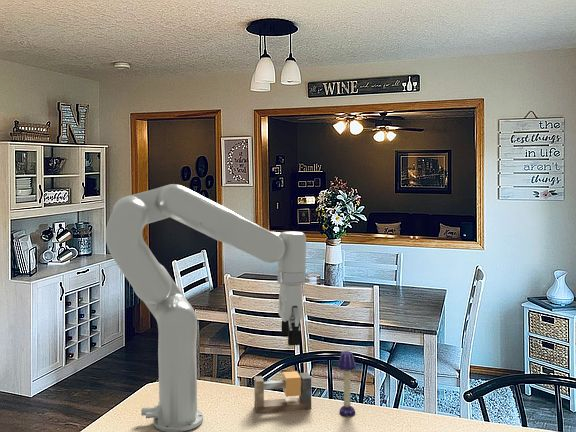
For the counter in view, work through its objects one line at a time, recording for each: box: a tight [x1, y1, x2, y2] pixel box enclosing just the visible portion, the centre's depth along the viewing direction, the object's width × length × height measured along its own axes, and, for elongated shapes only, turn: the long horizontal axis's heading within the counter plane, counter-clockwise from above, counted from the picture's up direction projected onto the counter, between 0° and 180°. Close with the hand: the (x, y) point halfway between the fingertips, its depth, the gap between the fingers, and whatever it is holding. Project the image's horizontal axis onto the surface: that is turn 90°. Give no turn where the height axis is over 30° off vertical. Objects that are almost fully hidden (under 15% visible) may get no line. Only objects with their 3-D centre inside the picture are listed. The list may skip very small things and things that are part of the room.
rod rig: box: [253, 372, 312, 414], centre depth 155 cm, size 15×4×8 cm, turn 101°
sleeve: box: [282, 370, 301, 398], centre depth 155 cm, size 4×5×5 cm
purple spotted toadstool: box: [337, 350, 356, 417], centre depth 151 cm, size 5×5×17 cm
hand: (290, 339), depth 154 cm, fingers open, 9 cm apart
